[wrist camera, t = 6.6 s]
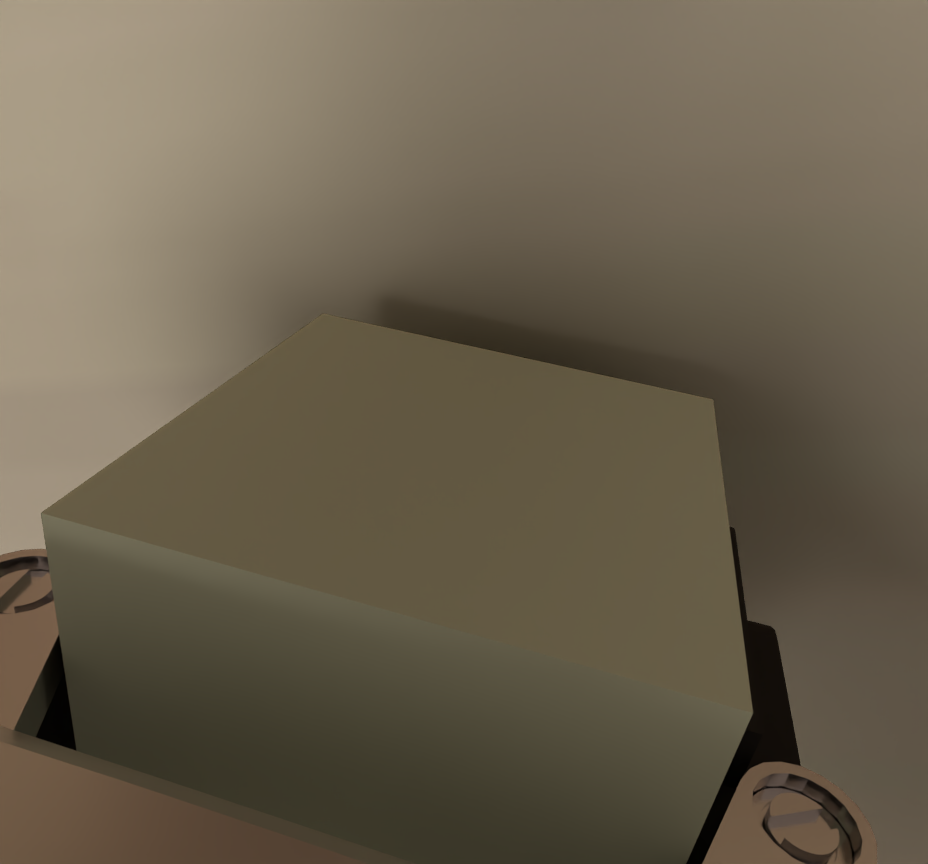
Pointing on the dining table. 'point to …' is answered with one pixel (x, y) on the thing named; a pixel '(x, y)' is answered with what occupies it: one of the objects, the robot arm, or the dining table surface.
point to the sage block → (416, 603)
